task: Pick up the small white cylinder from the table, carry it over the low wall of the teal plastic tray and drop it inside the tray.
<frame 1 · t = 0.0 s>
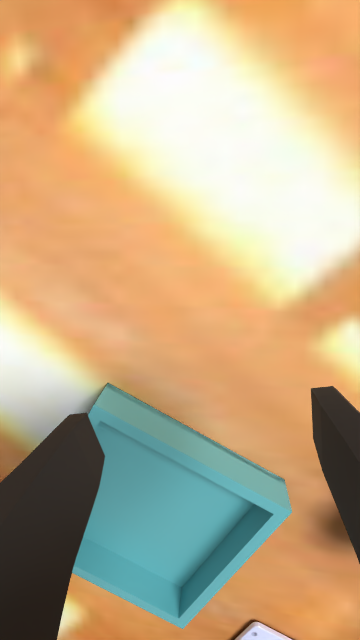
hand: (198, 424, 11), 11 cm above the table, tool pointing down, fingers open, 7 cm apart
tray: (151, 497, 26), on the table
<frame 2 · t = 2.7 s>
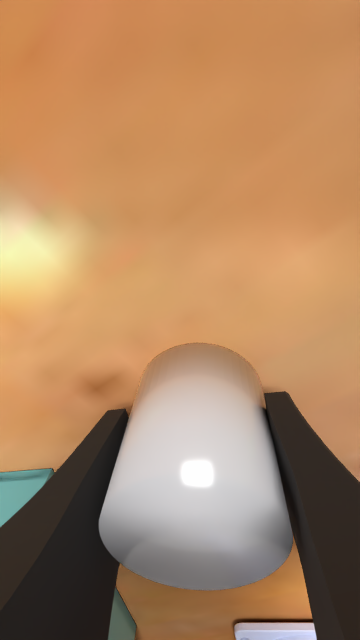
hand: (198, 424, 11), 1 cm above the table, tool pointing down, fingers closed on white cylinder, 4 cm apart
white cylinder: (199, 395, 12), on the table, touching gripper
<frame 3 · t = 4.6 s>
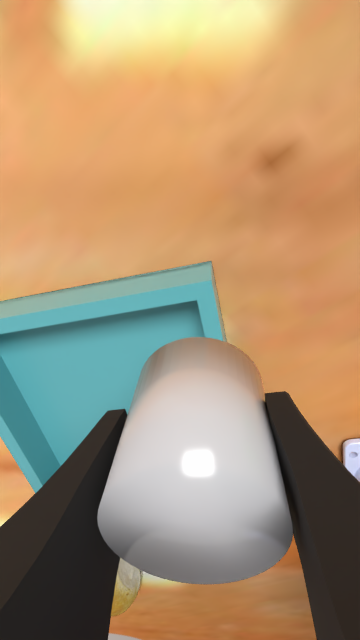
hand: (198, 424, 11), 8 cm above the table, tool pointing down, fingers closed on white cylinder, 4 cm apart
white cylinder: (199, 390, 12), point 7 cm above the table, touching gripper
bread roll: (94, 559, 31), on the table
tray: (120, 388, 21), on the table
when the fingers open (3 cm above the table, at t = 6.9 s): white cylinder drops 1 cm, resting on tray.
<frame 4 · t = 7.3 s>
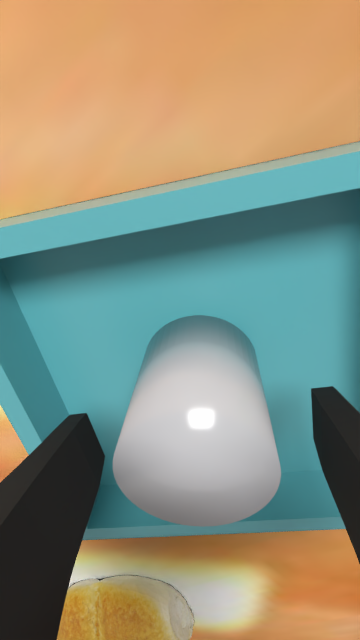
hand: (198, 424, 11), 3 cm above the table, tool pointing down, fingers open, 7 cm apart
white cylinder: (200, 365, 13), point 1 cm above the table, touching tray
bread roll: (130, 596, 24), on the table
tray: (201, 363, 14), on the table
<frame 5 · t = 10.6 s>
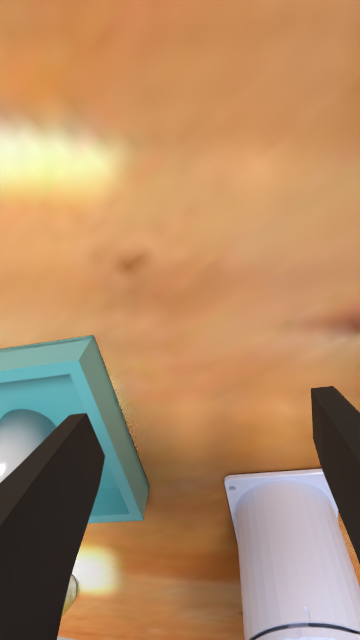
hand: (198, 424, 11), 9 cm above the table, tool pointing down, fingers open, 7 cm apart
white cylinder: (29, 432, 24), point 1 cm above the table, touching tray
tray: (34, 430, 25), on the table
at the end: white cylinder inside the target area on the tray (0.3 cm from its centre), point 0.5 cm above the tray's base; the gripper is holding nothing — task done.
